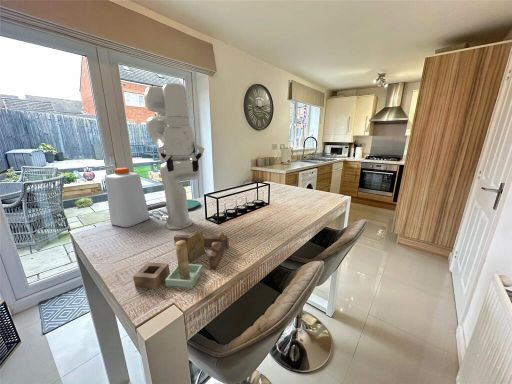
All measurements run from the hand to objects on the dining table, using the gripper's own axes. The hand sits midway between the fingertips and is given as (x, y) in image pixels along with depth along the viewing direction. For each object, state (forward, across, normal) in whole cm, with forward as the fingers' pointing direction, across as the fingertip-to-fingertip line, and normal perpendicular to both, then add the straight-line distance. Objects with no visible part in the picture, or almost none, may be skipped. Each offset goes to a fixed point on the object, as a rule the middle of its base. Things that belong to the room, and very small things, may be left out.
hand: (183, 171), depth 79 cm
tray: (+30, +8, -21) cm, 38 cm away
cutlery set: (+31, -27, +40) cm, 57 cm away
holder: (+30, -2, -23) cm, 38 cm away
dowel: (+30, +8, -21) cm, 37 cm away
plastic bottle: (+31, -42, +20) cm, 56 cm away
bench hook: (+30, +5, -8) cm, 32 cm away
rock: (+31, +5, -10) cm, 32 cm away
